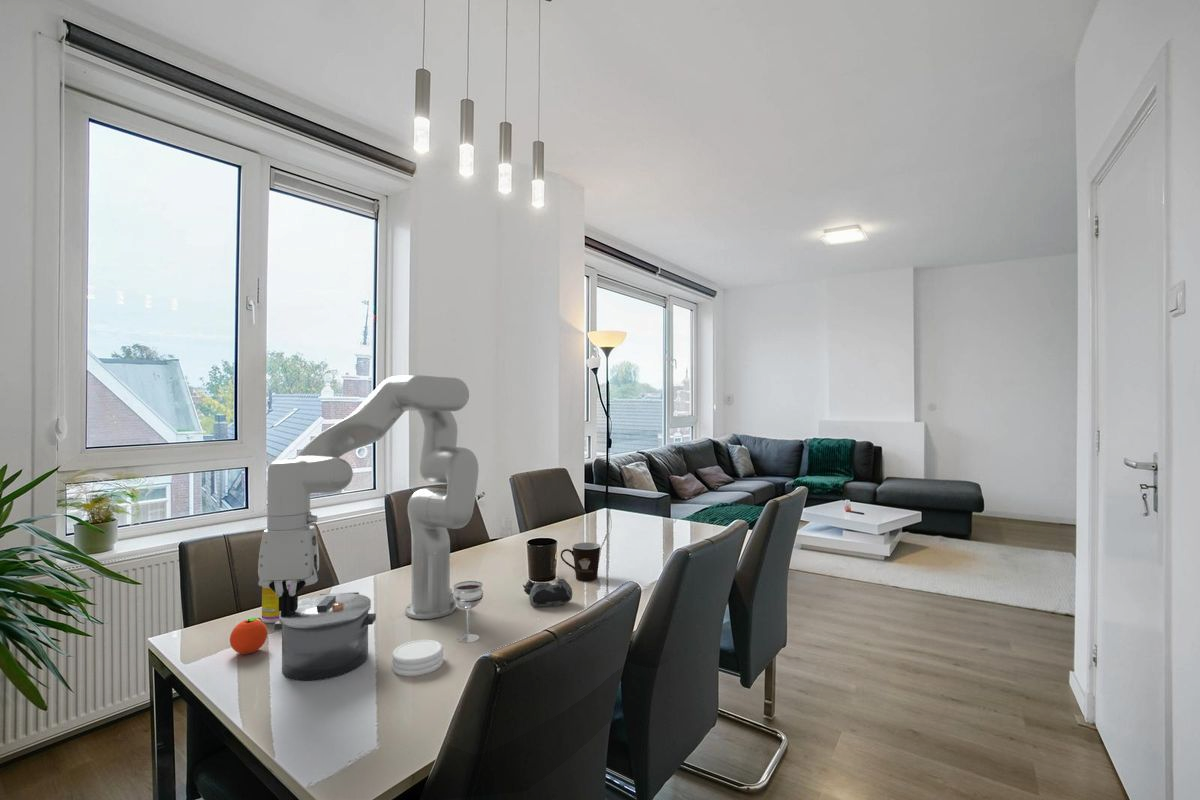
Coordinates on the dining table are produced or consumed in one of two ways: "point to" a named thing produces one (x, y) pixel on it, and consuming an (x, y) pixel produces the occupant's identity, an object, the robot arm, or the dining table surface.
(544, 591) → the bison figurine
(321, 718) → the dining table surface
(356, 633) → the pot
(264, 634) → the clementine
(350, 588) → the dining table surface
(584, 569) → the coffee mug
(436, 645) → the white round stack
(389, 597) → the dining table surface
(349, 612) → the lid
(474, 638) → the wineglass
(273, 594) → the supplement bottle
